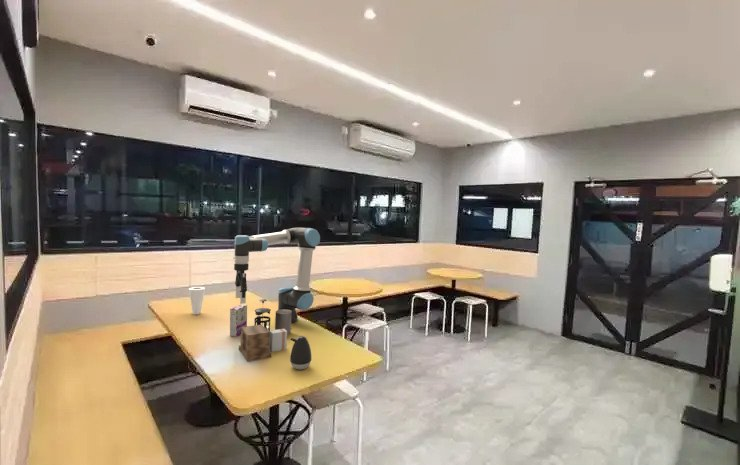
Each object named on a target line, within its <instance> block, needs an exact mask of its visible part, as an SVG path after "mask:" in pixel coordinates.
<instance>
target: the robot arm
mask: <svg viewBox="0 0 740 465" xmlns="http://www.w3.org/2000/svg"><path fill="white" fill-rule="evenodd" d="M320 241H321V235H320V233H319V232H318V230H317V229H315V228H311V227H299V226H298V227H292V228H287V229H283V230H282V231H277V232H271V233H263V234H256V235H250V236H249V235H243V234H242V235H240V234H239V235H236V236H235V237H234V256H233V259H234V264H233V269H234V271H236V274H235V281H234V282H235V283H234V284H235V299H240V300H239V301H240V303H239V305H245V304H246V301H247V300H246V299H247V298H246V297H247V291H248V285H247V273H246V272H245V271H248V270H249V263H250V262H249V260H250V253H253V252H255V253H256V252H257V253H258V252H266V251H267V250H268V248H269V246H273V245H277V244H279V245H280V244H286V245H287V244H295V245H297V248H298V250H299V255H298V262H297V263H298V264H297V265H298V266H297V272H296V273H297V274H296V282H295V286H294V285H293V286H283V287H279V289H278V301H277V302H278V306H277V310H281V309H287V310H291V311H292V314H291V324H292V323H296V322H297V321H298V318H299V316H298V313H297V310H300V311H307V310H309V309H310V308H311V307H312V305H314V304H313V303H314V296H313V294H312V293H311V292H312V289H311V288H310V280H311V271H312V264H313V263H312V262H313V253H314V251H315V250H316V247H317V246H319V244H320Z"/></svg>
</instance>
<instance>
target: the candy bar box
mask: <svg viewBox="0 0 740 465" xmlns="http://www.w3.org/2000/svg"><path fill="white" fill-rule="evenodd" d="M247 323H248V304H237V305H236V306H234V307H232V308H229V336H230V337H238V336H241V327H247V326H248V324H247Z"/></svg>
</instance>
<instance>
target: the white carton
mask: <svg viewBox="0 0 740 465" xmlns="http://www.w3.org/2000/svg"><path fill="white" fill-rule="evenodd" d="M287 345H288V335H287V331H286V330H285V329H277V330H275V329H273V330H271V329H270V352H271V353H273V352H279V351H284V350H288V349H287Z"/></svg>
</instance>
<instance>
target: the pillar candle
mask: <svg viewBox="0 0 740 465" xmlns="http://www.w3.org/2000/svg"><path fill="white" fill-rule="evenodd" d="M291 314H292V311H291V310H287V309H281V310H278V309H277V310H275V317H274V322H275V324H274V330H277V329H285V330H286V331H287V336H288V335H290V334H291V333H292V323H291Z"/></svg>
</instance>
